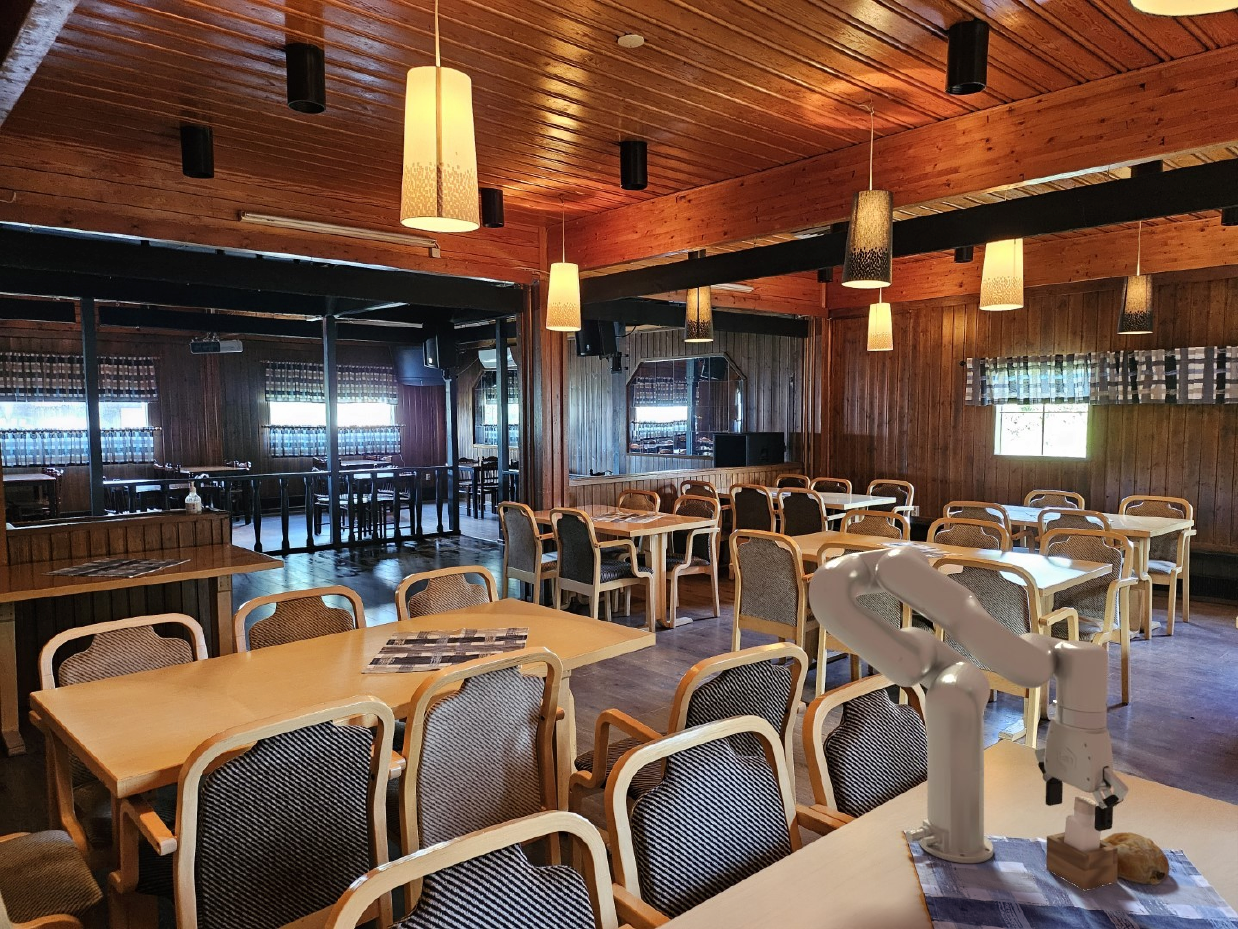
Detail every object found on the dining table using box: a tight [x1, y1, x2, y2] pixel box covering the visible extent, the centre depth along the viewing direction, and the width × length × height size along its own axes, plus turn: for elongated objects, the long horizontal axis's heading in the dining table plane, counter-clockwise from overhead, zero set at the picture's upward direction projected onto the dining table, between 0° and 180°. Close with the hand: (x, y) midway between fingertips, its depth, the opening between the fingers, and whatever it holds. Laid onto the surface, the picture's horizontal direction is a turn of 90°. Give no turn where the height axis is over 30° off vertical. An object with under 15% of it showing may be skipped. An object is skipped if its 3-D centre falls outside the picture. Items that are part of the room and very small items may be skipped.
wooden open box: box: [1046, 831, 1118, 891], centre depth 141 cm, size 7×7×6 cm
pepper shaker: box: [1064, 796, 1102, 852], centre depth 140 cm, size 4×4×10 cm
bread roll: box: [1101, 832, 1170, 886], centre depth 142 cm, size 10×10×8 cm
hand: (1077, 816), depth 141 cm, fingers open, 9 cm apart
